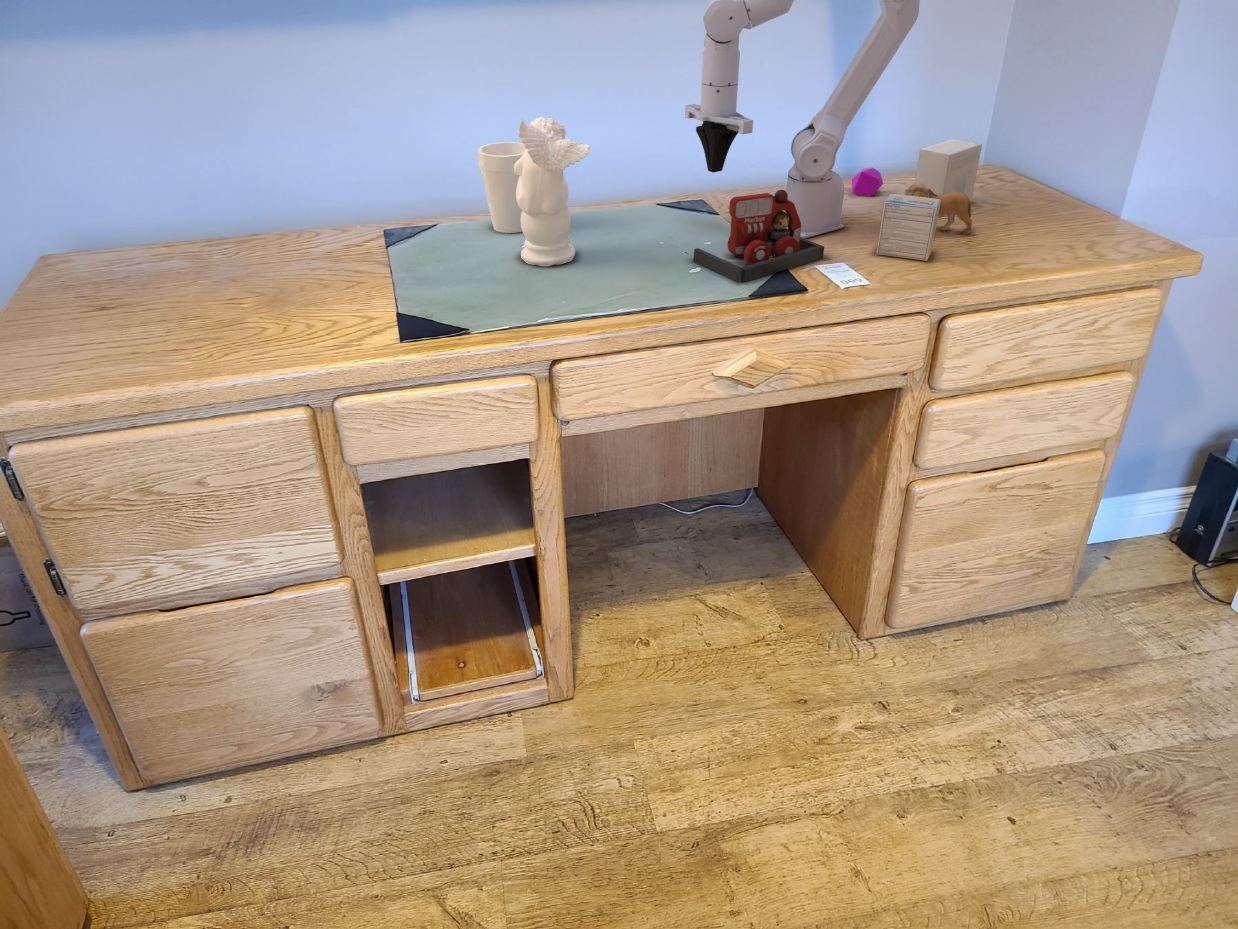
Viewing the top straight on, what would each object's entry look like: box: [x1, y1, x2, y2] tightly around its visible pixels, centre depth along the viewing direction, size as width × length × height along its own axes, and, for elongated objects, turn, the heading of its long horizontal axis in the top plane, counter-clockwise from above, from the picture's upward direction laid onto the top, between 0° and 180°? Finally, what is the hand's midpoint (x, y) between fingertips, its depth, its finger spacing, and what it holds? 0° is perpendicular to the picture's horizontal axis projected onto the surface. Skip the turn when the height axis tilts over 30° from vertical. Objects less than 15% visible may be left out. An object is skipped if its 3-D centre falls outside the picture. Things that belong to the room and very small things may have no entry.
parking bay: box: [693, 237, 825, 284], centre depth 139 cm, size 17×11×2 cm, turn 125°
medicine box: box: [876, 193, 941, 262], centre depth 139 cm, size 8×4×9 cm, turn 65°
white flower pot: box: [477, 141, 527, 234], centre depth 150 cm, size 10×9×13 cm
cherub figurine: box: [514, 116, 591, 267], centre depth 134 cm, size 12×12×22 cm
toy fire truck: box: [726, 189, 801, 265], centre depth 137 cm, size 7×12×10 cm, turn 112°
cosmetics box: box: [914, 138, 983, 203], centre depth 159 cm, size 10×6×10 cm, turn 131°
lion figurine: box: [904, 183, 973, 235], centre depth 147 cm, size 15×5×9 cm, turn 113°
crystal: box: [850, 167, 884, 197], centre depth 168 cm, size 5×5×5 cm
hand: (715, 170), depth 148 cm, fingers closed
